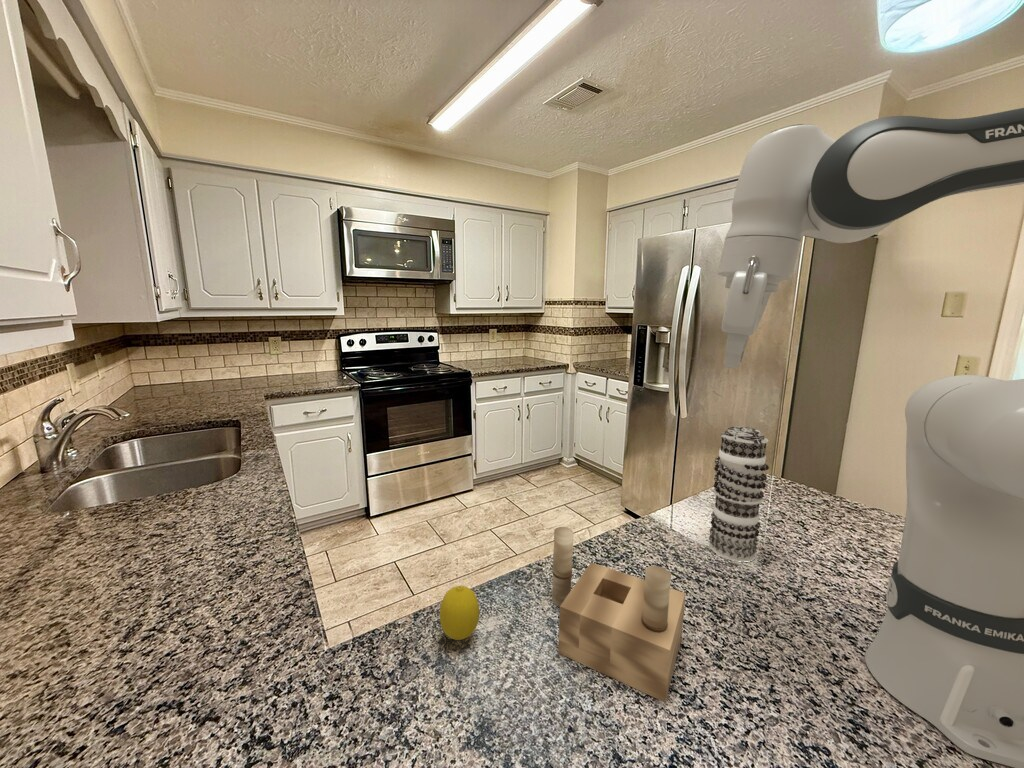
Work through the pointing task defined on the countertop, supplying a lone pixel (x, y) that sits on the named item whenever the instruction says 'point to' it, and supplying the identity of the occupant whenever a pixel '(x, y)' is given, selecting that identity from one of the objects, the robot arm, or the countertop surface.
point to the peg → (562, 564)
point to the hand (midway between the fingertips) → (732, 364)
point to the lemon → (459, 612)
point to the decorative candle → (738, 493)
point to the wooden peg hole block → (624, 626)
